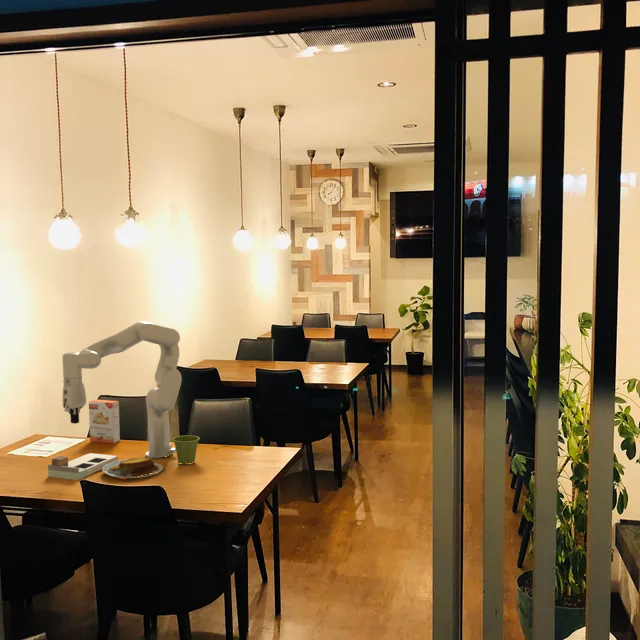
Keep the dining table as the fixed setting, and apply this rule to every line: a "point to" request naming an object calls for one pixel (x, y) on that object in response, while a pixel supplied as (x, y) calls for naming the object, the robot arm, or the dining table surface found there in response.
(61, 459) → the walnut block
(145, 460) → the food on plate
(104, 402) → the cracker box
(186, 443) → the plant pot
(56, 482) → the dining table surface
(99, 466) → the box
